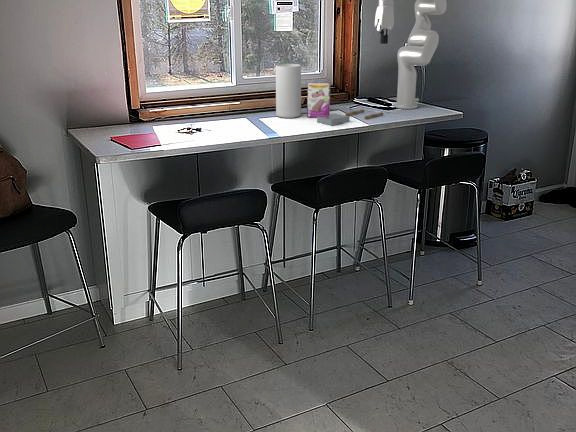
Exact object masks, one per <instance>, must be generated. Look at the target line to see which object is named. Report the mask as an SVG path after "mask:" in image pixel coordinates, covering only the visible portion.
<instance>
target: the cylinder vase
mask: <svg viewBox="0 0 576 432" xmlns="http://www.w3.org/2000/svg"><path fill="white" fill-rule="evenodd" d="M301 108H302V65H301V64H297V63H282V64H280V63H279V64H275V115H276V116H277V117H278V118H284V119H286V118H287V119H291V118H293V119H294V118H299V117H301V116H302V109H301Z"/></svg>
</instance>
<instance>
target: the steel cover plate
mask: <svg viewBox="0 0 576 432" xmlns="http://www.w3.org/2000/svg"><path fill="white" fill-rule="evenodd" d="M320 123H321V125H326V126H329V125H330V127H333V126H338V125H343V124H345V123H350V116H346V115H345V114H339V113H332V114H330V113H329V115H324V116H318V117H317V118H316V124H320Z"/></svg>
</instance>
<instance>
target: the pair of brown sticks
mask: <svg viewBox="0 0 576 432" xmlns="http://www.w3.org/2000/svg"><path fill="white" fill-rule="evenodd" d="M361 113H365V109H360V110H358V109H357V110H353V111H349V112H345V116H354V115H358V114H361ZM383 116H384V112H381V111H380V112H377V113H376V112H375V113H373V114H368V115H364V120H369V119H373V118H374V119H375V118H378V117H383Z"/></svg>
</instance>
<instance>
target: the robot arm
mask: <svg viewBox="0 0 576 432" xmlns="http://www.w3.org/2000/svg"><path fill="white" fill-rule="evenodd" d="M394 1H395V0H377V7H376V9H375V15H374V16H375V17H374V28H375V29H376V31H377V32H379V35H380V39H379V40H380V41H379V42H380V44H382V45H383V44H384V45H386V44H387V45H388V43H389V42H388V41H389V34H390V32H392V31H393V28H394V27H395V26H394V24H395V8H394V4H395V3H394ZM446 11H447V0H415V2H414V14H415V23H414V26H413V28H412V29H411V32H410V34H409V36H408V38H407V45H404V46H401V47H400V48H399V49H398V50H397V54H396V55H397V64H398V65H397V66H398V67H397V68H398V71H397V74H398V75H397V94H396V103H394V104H393V107H394V106H395V107H396V109H400V110H402V109H406V110H410V109H411V110H413V109H417V108H418V104H416V103H417V102H420V99H419V98H418V97H416V88H417V70H416V68H415V66H416V67H417V66H420V67H424V66H425V67H426V66H427V65H428V64H429V63H430V62H431V60H432V58H433V55H434V54H435V52H436V50H437V47H438V45H439V39H440V38H439V34H438V32H437V31H435V30H432V29H431V28H432V23H431V21H430V19H429V17H428V15H429V16H430V15H434V16H439V15H440V16H441V15H443V14H444V13H445V12H446ZM395 107H394V108H395Z"/></svg>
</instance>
